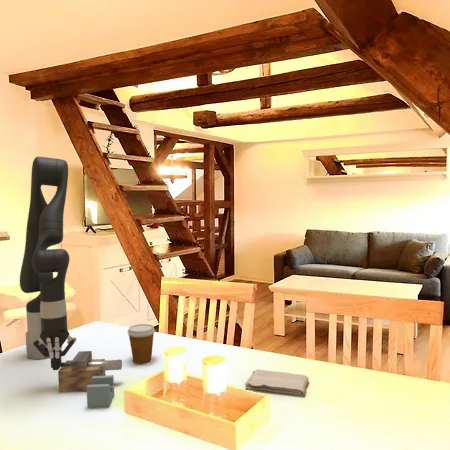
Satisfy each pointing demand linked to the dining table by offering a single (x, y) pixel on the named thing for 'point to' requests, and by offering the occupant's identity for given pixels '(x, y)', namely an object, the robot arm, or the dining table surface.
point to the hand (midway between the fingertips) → (56, 369)
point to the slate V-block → (100, 391)
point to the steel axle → (99, 364)
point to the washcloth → (277, 383)
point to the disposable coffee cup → (141, 342)
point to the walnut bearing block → (78, 373)
